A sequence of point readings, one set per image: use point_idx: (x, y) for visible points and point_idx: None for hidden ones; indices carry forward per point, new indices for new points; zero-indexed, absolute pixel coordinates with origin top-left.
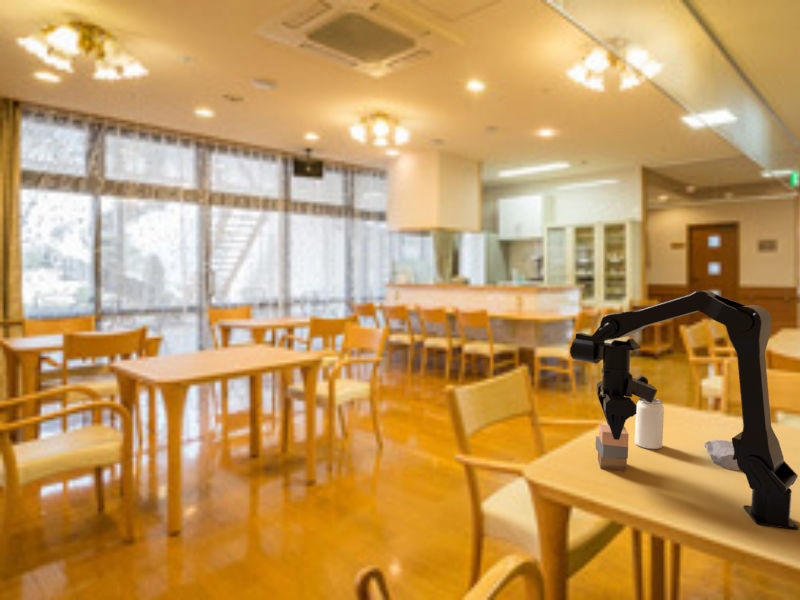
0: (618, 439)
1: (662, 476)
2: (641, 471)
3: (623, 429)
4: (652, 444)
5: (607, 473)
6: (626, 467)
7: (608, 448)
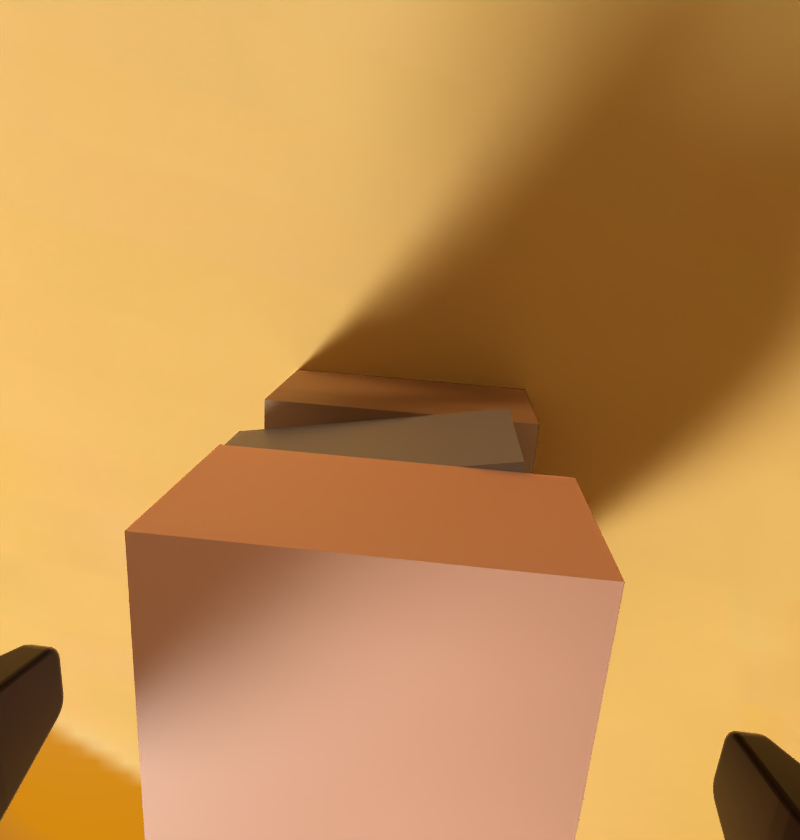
0: (756, 740)
1: (589, 43)
2: (494, 240)
3: (329, 596)
4: None
5: None
6: (527, 399)
7: None
